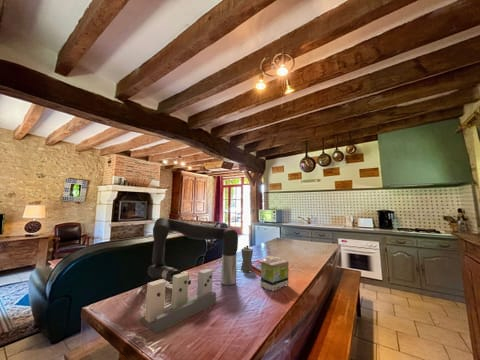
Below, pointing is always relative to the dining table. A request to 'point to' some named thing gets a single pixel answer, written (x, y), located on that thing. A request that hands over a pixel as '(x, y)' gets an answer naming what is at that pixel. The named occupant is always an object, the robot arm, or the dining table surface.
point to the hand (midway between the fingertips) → (189, 282)
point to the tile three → (204, 282)
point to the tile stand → (180, 312)
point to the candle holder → (271, 257)
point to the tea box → (274, 274)
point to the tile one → (155, 299)
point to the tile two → (179, 290)
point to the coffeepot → (247, 259)
